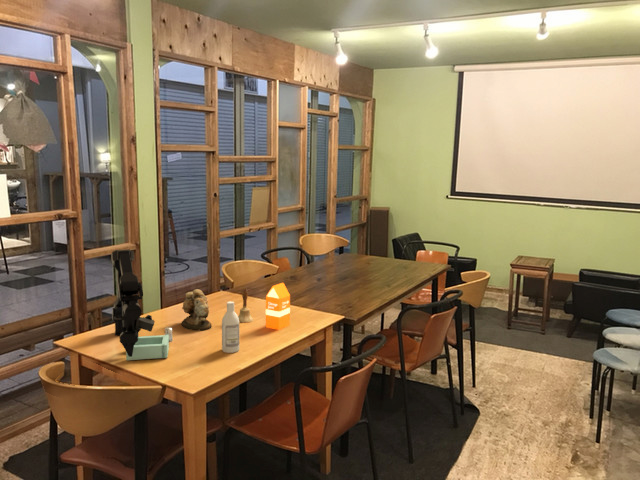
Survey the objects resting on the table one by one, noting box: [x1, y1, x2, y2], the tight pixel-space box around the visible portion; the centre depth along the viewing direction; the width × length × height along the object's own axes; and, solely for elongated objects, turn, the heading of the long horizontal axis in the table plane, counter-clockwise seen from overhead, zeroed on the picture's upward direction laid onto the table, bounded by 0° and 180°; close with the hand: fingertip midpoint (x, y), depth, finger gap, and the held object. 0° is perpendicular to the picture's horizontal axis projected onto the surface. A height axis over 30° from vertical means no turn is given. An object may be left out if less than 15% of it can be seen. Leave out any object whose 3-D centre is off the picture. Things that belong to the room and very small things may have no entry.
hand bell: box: [237, 287, 254, 324], centre depth 251 cm, size 8×8×16 cm
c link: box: [125, 334, 170, 361], centre depth 206 cm, size 15×12×5 cm
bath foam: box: [221, 301, 240, 354], centre depth 211 cm, size 7×7×20 cm
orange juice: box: [265, 282, 291, 331], centre depth 243 cm, size 8×9×20 cm
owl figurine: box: [181, 288, 213, 332], centre depth 242 cm, size 18×12×17 cm, turn 48°
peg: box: [164, 326, 173, 343], centre depth 221 cm, size 3×3×6 cm
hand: (131, 352), depth 200 cm, fingers open, 9 cm apart
